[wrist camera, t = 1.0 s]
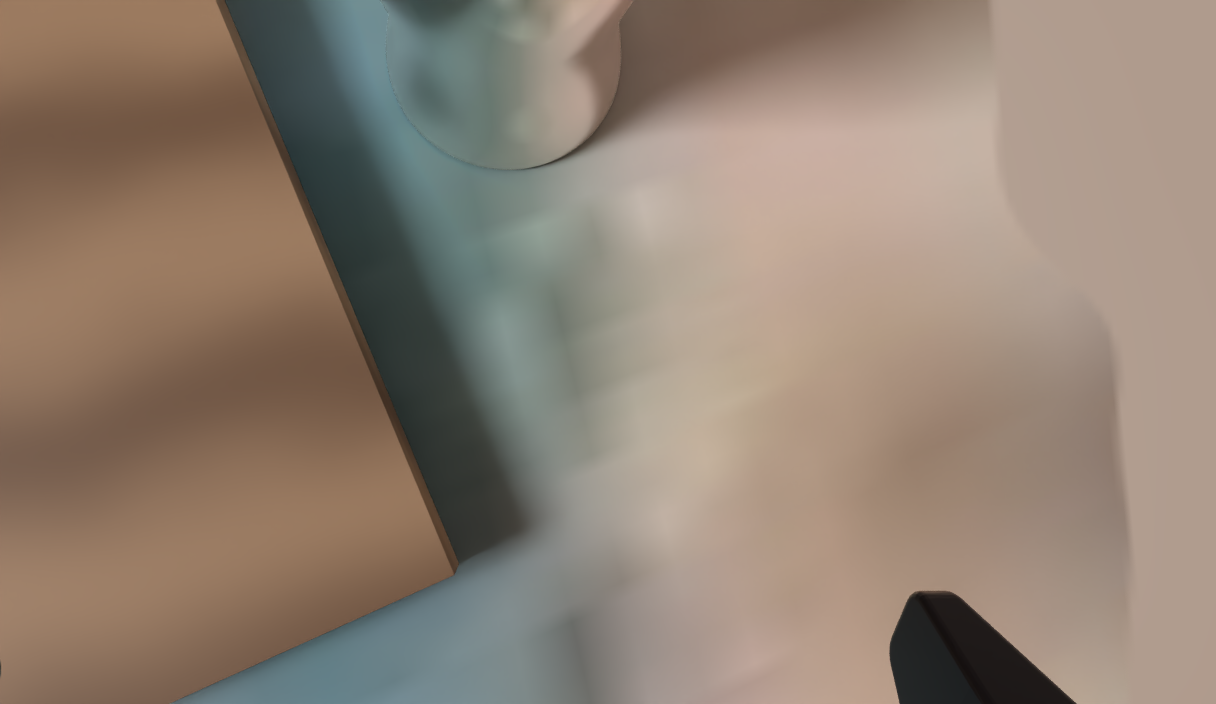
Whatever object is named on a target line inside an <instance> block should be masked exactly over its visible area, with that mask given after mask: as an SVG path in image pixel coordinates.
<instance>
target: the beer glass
mask: <svg viewBox="0 0 1216 704" xmlns="http://www.w3.org/2000/svg"><path fill="white" fill-rule="evenodd" d="M633 1H634V0H380V2H381V3H382V5H383V6H384V8H385V10H386V11H387V13H388V22H387V31H386V48H385V50H386V61H387V69H388V74H389V78H390V82H391V85H392V88H393V91H394V94H395V96H396V99H397V101H398V103H399V105H400V107H401V109H402V110H403V112H404V114H405V115H406V117H407V118H408V120H409V121H410V122H411V124H412V125H413V126H414V127H415V128H416V129H417V131H418V132H419V133H420V134H421V135H423V136H424V137H425V138H426V139H427V140H428V141H429V142H431V143H432V144H433V145H434V146H436V147H437V148H439V149H440V150H442V151H443V152H445V153H447V154H448V155H450V156H452V157H454V158H456V159H459V160H461V161H463V162H466V163H469V164H472V165H476V166H480V167H484V168H490V169H498V170H518V169H526V168H532V167H536V166H540V165H543V164H547V163H549V162H552V161H554V160H557V159H559V158H561V157H563V156H565V155H566V154H568V153H570V152H571V151H573V150H574V149H576V148H577V147H578V146H580V145H581V144H582V143H583V142H584V141H586V140H587V139H588V138H589V137H590V136H591V135H592V134H593V133H594V131H595V130H596V129H597V128H598V126H599V125H600V124H601V122H602V121H603V119H604V118H605V116H606V114H607V113H608V111H609V109H610V107H611V104H612V102H613V99H614V97H615V94H616V90H617V87H618V82H619V77H620V69H621V40H620V30H619V22H620V20H621V18H622V17H623V15H624V14H625V12H626V11H627V9H628V8H629V7H630V5H631V4H632V2H633Z"/></svg>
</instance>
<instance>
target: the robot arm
mask: <svg viewBox="0 0 1216 704" xmlns="http://www.w3.org/2000/svg"><path fill="white" fill-rule="evenodd" d="M889 654H890V662H891V667H892V672H893V676H894V681H895V685H896V689H897V694H898V698H899V703H900V704H1076V703H1075V702H1074V701H1073V700H1072V699H1071V698H1070V697H1069V696H1068V695H1066V694H1065V693H1064V692H1063V691H1062V690H1061V689H1060V688H1059V687H1058V686H1057V685H1055V684H1054V683H1053V682H1052V681H1051V680H1050V679H1049V678H1048V677H1047V676H1046V675H1045V674H1043V673H1042V672H1041V671H1040V670H1039V669H1038V668H1037V667H1036V666H1035V665H1034V664H1033V663H1031V662H1030V661H1029V660H1028V659H1027V658H1026V657H1025V656H1024V655H1023V654H1022V653H1020V652H1019V651H1018V650H1017V649H1016V648H1015V647H1014V646H1013V645H1012V644H1011V643H1010V642H1008V641H1007V640H1006V639H1005V638H1004V637H1003V636H1002V635H1001V634H1000V633H999V632H998V631H996V630H995V629H994V628H993V627H992V626H991V625H990V624H989V623H988V622H987V621H985V620H984V619H983V618H982V617H981V616H980V615H979V614H978V613H977V612H976V611H975V610H973V609H972V608H971V607H970V606H969V605H968V604H967V603H966V602H965V601H964V600H962V599H961V598H960V597H959V596H957V595H956V594H954V593H952V592H949V591H917V592H915V593H913V594H912V595H911V596H910V597H909V598H908V600H907V602H906V605H905V607H904V609H903V612H902V614H901V617H900V619H899V621H898V624H897V626H896V628H895V631H894V633H893V635H892V638H891V642H890V653H889ZM0 677H1V662H0Z"/></svg>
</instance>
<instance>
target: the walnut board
mask: <svg viewBox="0 0 1216 704" xmlns="http://www.w3.org/2000/svg"><path fill="white" fill-rule="evenodd" d="M458 565H459V563H458V560H457V558H456V555H455V553H454V551H453V548H452V546H451V543H450V541H449V539H448V536H447V534H446V531H445V529H444V527H443V524H442V522H441V519H440V517H439V515H438V512H437V510H436V507H435V505H434V503H433V500H432V498H431V495H430V493H429V491H428V488H427V486H426V483H425V481H424V478H423V476H422V474H421V471H420V469H419V466H418V464H417V462H416V459H415V457H414V454H413V452H412V450H411V447H410V445H409V442H408V440H407V438H406V435H405V433H404V430H403V428H402V426H401V423H400V421H399V418H398V416H397V414H396V411H395V409H394V406H393V404H392V402H391V399H390V397H389V394H388V392H387V390H386V387H385V385H384V382H383V380H382V378H381V375H380V373H379V370H378V368H377V366H376V363H375V361H374V358H373V356H372V353H371V351H370V349H369V346H368V344H367V341H366V339H365V337H364V334H363V332H362V329H361V327H360V325H359V322H358V320H357V317H356V315H355V313H354V310H353V308H352V305H351V303H350V301H349V298H348V296H347V293H346V291H345V289H344V286H343V284H342V281H341V279H340V277H339V274H338V272H337V269H336V267H335V265H334V262H333V260H332V257H331V255H330V253H329V250H328V248H327V245H326V243H325V241H324V238H323V236H322V233H321V231H320V229H319V226H318V224H317V221H316V219H315V216H314V214H313V212H312V209H311V207H310V204H309V202H308V200H307V197H306V195H305V192H304V190H303V188H302V185H301V183H300V180H299V178H298V176H297V173H296V171H295V168H294V166H293V164H292V161H291V159H290V156H289V154H288V152H287V149H286V147H285V144H284V142H283V140H282V137H281V135H280V132H279V130H278V128H277V125H276V123H275V120H274V118H273V116H272V113H271V111H270V108H269V106H268V104H267V101H266V99H265V96H264V94H263V91H262V89H261V87H260V84H259V82H258V79H257V77H256V75H255V72H254V70H253V67H252V65H251V63H250V60H249V58H248V55H247V53H246V51H245V48H244V46H243V43H242V41H241V39H240V36H239V34H238V31H237V29H236V27H235V24H234V22H233V19H232V17H231V15H230V12H229V10H228V7H227V5H226V3H225V0H0V662H1V677H0V704H169V703H172V702H174V701H176V700H178V699H181V698H183V697H185V696H187V695H189V694H192V693H194V692H196V691H198V690H200V689H203V688H205V687H207V686H209V685H212V684H214V683H216V682H218V681H220V680H223V679H225V678H227V677H229V676H231V675H234V674H236V673H238V672H240V671H243V670H245V669H247V668H249V667H251V666H254V665H256V664H258V663H260V662H262V661H265V660H267V659H269V658H271V657H274V656H276V655H278V654H280V653H282V652H285V651H287V650H289V649H291V648H293V647H296V646H298V645H300V644H302V643H305V642H307V641H309V640H311V639H313V638H316V637H318V636H320V635H322V634H324V633H327V632H329V631H331V630H333V629H336V628H338V627H340V626H342V625H344V624H347V623H349V622H351V621H353V620H355V619H358V618H360V617H362V616H364V615H366V614H369V613H371V612H373V611H375V610H378V609H380V608H382V607H384V606H386V605H389V604H391V603H393V602H395V601H397V600H400V599H402V598H404V597H406V596H409V595H411V594H413V593H415V592H417V591H420V590H422V589H424V588H426V587H428V586H431V585H433V584H435V583H437V582H440V581H442V580H444V579H446V578H448V577H451V576H453V575H454V574H455V572H456V570H457V567H458Z"/></svg>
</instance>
